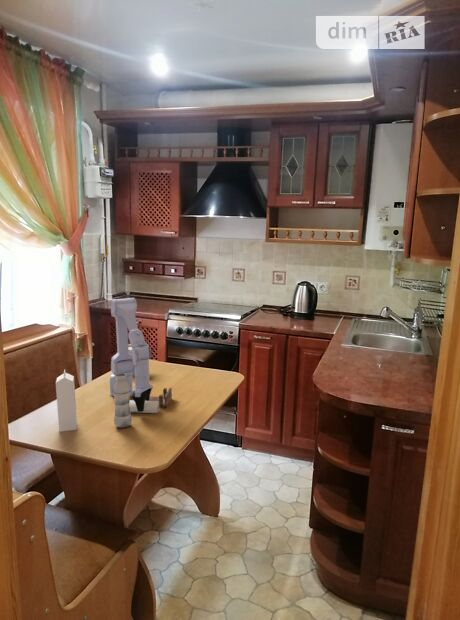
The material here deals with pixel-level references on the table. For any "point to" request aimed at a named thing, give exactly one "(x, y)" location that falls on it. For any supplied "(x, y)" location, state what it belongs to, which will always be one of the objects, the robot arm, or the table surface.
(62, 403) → the milk
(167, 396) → the holder
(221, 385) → the table surface
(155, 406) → the cylinder
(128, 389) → the plastic bottle
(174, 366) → the table surface
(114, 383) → the robot arm
